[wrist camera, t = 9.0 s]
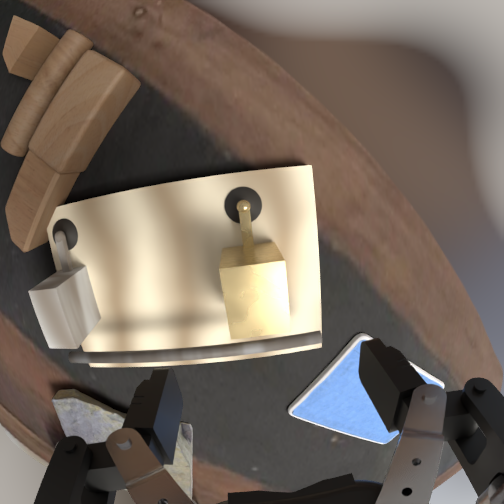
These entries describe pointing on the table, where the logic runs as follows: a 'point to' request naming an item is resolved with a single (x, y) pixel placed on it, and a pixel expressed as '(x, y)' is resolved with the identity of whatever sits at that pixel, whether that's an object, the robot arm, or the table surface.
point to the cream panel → (176, 270)
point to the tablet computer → (346, 398)
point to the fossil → (109, 420)
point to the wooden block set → (56, 120)
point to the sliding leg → (254, 284)
